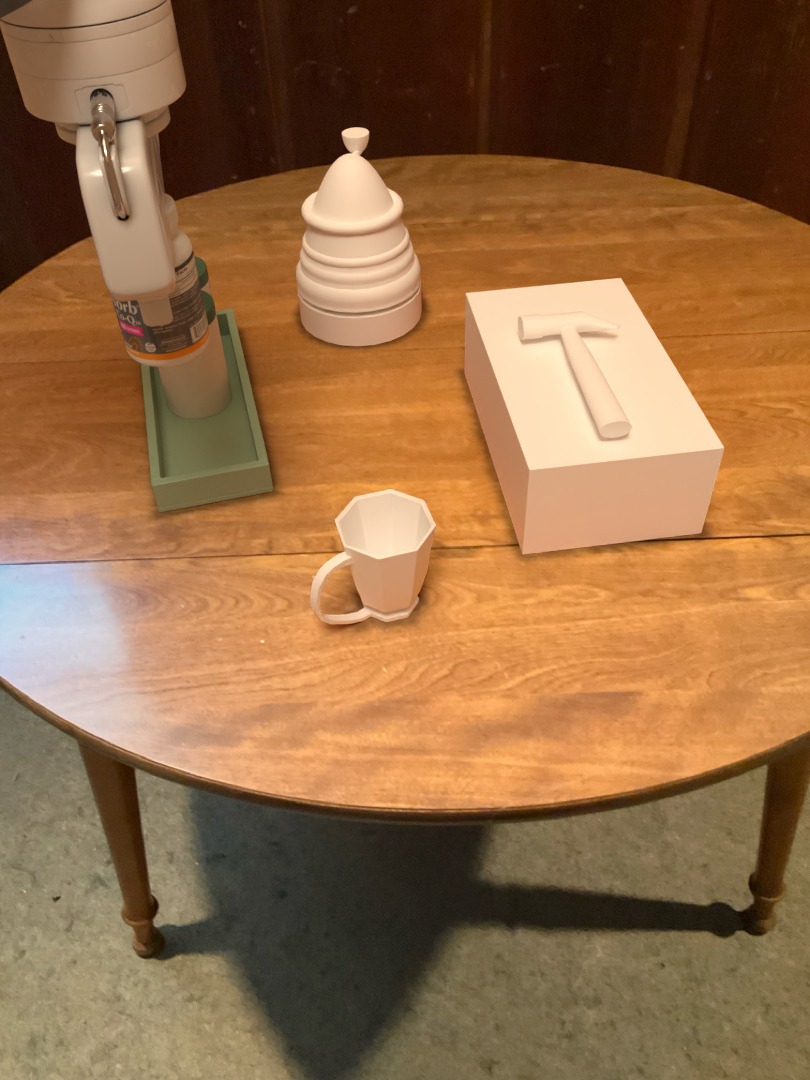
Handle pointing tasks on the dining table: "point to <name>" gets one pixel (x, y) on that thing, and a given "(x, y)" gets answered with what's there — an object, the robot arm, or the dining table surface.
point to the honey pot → (357, 256)
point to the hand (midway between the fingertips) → (156, 291)
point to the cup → (380, 555)
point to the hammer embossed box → (586, 417)
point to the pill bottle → (188, 311)
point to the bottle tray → (206, 439)
